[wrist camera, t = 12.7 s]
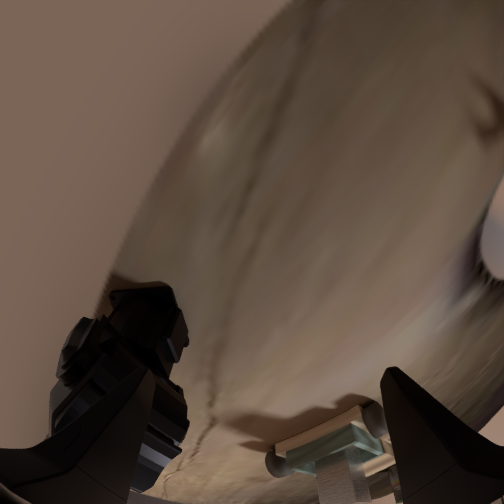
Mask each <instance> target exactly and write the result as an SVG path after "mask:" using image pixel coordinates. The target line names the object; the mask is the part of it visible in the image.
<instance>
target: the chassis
mask: <svg viewBox="0 0 504 504" xmlns="http://www.w3.org/2000/svg"><path fill="white" fill-rule="evenodd" d="M352 445H355V446H357V447H358V448H359V452H360V456H361V459H362V463H363V467H364V472H365V476H366V477H367V476H370V475H372V474H374V473H376V472H379V471H381V470H383V469H385V468H387V467H389V466H391V465H393V464H395V463H396V462H395V458H394V453H393V449H392V444H391V440H390V436H389V432H388V428H387V424H386V420H385V415H384V409H383V408H382V407H381V405H380V404H379V403H378V402H374V403H373V404H371V405H369V406H367V407H366V408H364V409H363V408H362V407H361V406H359V405H356V406H355V407H353V408H351V409H349V410H347V411H346V412H344V413H342V414H340V415H338V416H336V417H334V418H332V419H330V420H328V421H326V422H324V423H322V424H320V425H318V426H316V427H314V428H312V429H309V430H307V431H305V432H303V433H300V434H298V435H296V436H293V437H291V438H289V439H286V440H284V441H281V442H278V443H276V444H275V450H273V451H270V452H268V453H267V455H266V457H265V463H266V467H267V469H268V471H269V472H270V474H271V475H273V476H274V477H277V478H280V477H284V476H287V475H291V474H293V473H294V472H295V471H297V472H301V473H305V474H309V475H313V476H316V470H315V463H314V461H316V460H319V459H321V458H324V457H326V456H329V455H331V454H334V453H336V452H338V451H341V450H343V449H345V448H347V447H349V446H352ZM316 479H317V477H316Z"/></svg>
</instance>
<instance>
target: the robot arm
mask: <svg viewBox="0 0 504 504" xmlns="http://www.w3.org/2000/svg"><path fill="white" fill-rule="evenodd" d="M165 291H168V292H169V294H167V293H166V292H165ZM113 296H115V298H114V297H113ZM108 297H109V300H110V302H111V305H112V307H113V309H114V310H113V312H112V313H111V314H110V316H109V317H108V318H107V317H106V316H105V315H104V314H103V315H101V316H100V317H99V318H96V319H94V320H93V319H89V318H86V317H83V318H81V319H80V320H79V322H78V323H77V324H76V325H75V327H74V328H73V329H72V331H71V332H70V333H69V335H68V337H67V339H66V341H65V343H64V346H63V348H62V350H61V354H60V358H59V362H58V367H57V372H56V377H57V378H58V379H59V381H58V382H57V383H56V385H55V386H54V387H53V389H52V390H51V392H50V401H49V433H48V435H47V436H46V438H45V439H44V441H43V442H41V443H39V444H37V445H36V446H34V447H31V448H26V449H4V448H0V504H126V503H127V499H128V495H129V491H130V489H132V490H134V491H136V492H138V493H143V492H144V491H146V490H148V489H149V488H151V487H152V486H153V485H154V484H155V482H156V480H157V479H158V477H159V475H160V474H161V472H162V471H163V469H164V468H165V467H166V466H167V464H168V463H169V462H170V461H171V460H172V459H173V458H175V457H176V456H177V455H179V454H180V453H181V452H182V449H181V448H180V447H178V446H179V445H180V444H181V443H182V441H183V440H184V438H185V436H186V433H187V431H188V428H189V425H190V421H189V420H188V419H187V404H186V401H185V399H184V394H183V389H182V388H181V387H180V386H178V385H175V384H174V383H173V382H172V381H171V380H169V376H170V373H171V370H172V367H173V364H174V363H178V362H179V361H180V357H181V354H182V351H183V348H184V347H187V346H188V345H189V338H188V329H187V326H186V323H185V320H184V317H183V313H182V310H181V309H180V308H178V305H177V302H176V299H175V296H174V292H173V290H172V288H171V287H169V286H162V287H151V288H140V289H128V290H116V291H111V292H110V294H109V296H108ZM185 342H186V343H185ZM380 388H381V394H382V401H383V408H384V415H385V420H386V424H387V428H388V432H389V436H390V440H391V444H392V449H393V453H394V458H395V462H396V467H397V472H398V477H399V482H400V488H401V494H402V499H403V504H504V446H499V445H496V444H494V443H493V442H491V441H490V440H488V439H487V438H485V437H483V436H482V435H480V434H479V433H477V432H476V431H474V430H473V429H472V428H470V427H469V426H467V425H466V424H465V423H464V422H462V421H461V420H460V419H459V418H458V417H456V416H455V415H454V414H453V413H452V412H450V411H449V410H448V409H447V408H446V407H444V406H443V405H442V404H441V403H440V402H439V401H437V400H436V399H435V398H434V397H433V396H431V395H430V394H429V393H428V392H427V391H426V390H424V389H423V388H422V387H421V386H420V385H418V384H417V383H416V382H415V381H414V380H412V379H411V378H410V377H409V376H408V375H406V374H405V373H404V372H403V371H402V370H401V369H399V368H398V367H396V366H394V367H388V368H387V369H386V370H385V372H384V374H383V377H382V379H381V381H380Z"/></svg>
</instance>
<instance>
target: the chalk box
mask: <svg viewBox="0 0 504 504" xmlns="http://www.w3.org/2000/svg"><path fill="white" fill-rule="evenodd" d="M387 471H388V474H389V478H390V481H391V485H392V489H393V493H394V496H395V500H396V503H402V502H403V499H402V494H401V488H400V482H399V477H398V472H397V467H396V464H394V465H393V466H391V467H389V468H387Z"/></svg>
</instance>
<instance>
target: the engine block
mask: <svg viewBox="0 0 504 504" xmlns="http://www.w3.org/2000/svg"><path fill="white" fill-rule="evenodd" d="M314 463H315V470H316V477H317V484H318V492H319V500H320V504H368V503H371V497H370V493H369V488H368V484H367V480H366V476H365V472H364V467H363V463H362V459H361V456H360V452H359V448H358V447H357V446H355V445H352V446H349V447H347V448H345V449H343V450H341V451H338V452H336V453H334V454H331V455H329V456H326V457H324V458H321V459H319V460H316V461H314Z"/></svg>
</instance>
